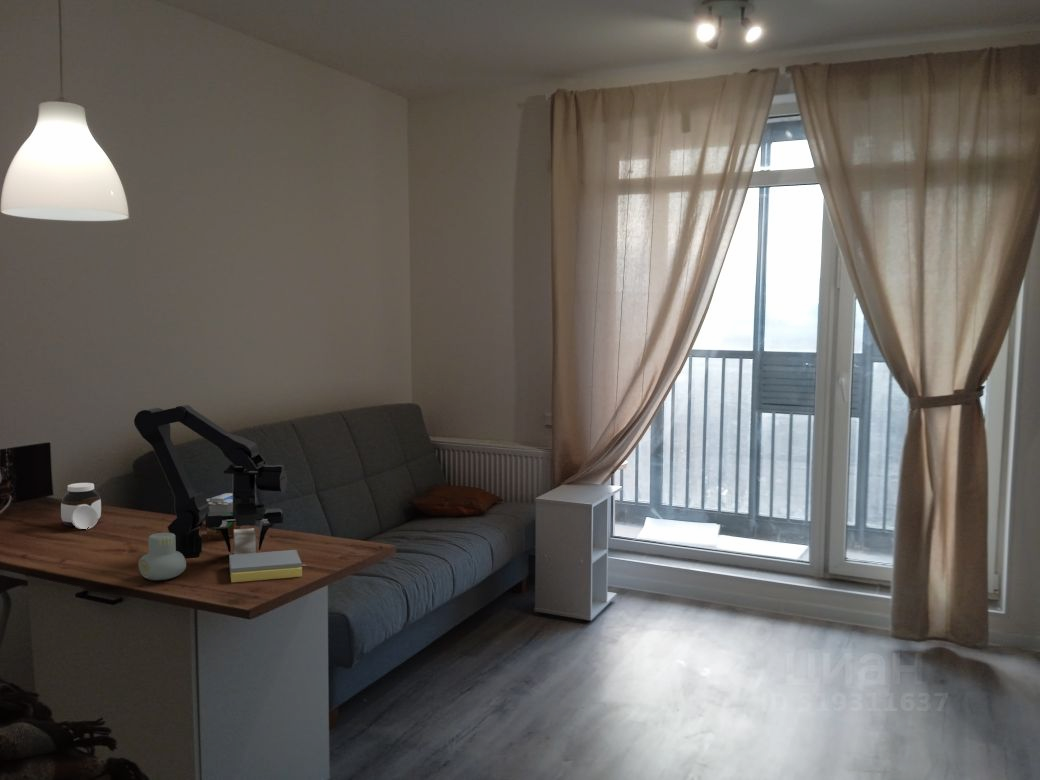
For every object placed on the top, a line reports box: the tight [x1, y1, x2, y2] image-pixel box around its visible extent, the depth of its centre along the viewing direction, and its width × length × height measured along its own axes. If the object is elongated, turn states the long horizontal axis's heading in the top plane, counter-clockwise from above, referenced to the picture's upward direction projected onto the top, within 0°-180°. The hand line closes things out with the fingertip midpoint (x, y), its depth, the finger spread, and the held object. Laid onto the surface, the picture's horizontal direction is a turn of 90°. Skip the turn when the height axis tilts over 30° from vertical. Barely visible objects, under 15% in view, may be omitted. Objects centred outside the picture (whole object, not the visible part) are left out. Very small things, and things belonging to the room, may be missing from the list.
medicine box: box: [210, 492, 233, 504], centre depth 247 cm, size 8×4×9 cm, turn 168°
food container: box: [206, 498, 241, 541], centre depth 232 cm, size 12×6×10 cm, turn 68°
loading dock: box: [228, 549, 303, 583], centre depth 203 cm, size 16×13×3 cm
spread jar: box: [60, 482, 102, 530], centre depth 242 cm, size 12×11×12 cm
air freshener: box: [138, 532, 187, 581], centre depth 197 cm, size 11×8×10 cm
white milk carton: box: [233, 527, 257, 554], centre depth 215 cm, size 5×8×6 cm, turn 21°
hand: (244, 550), depth 215 cm, fingers open, 7 cm apart
